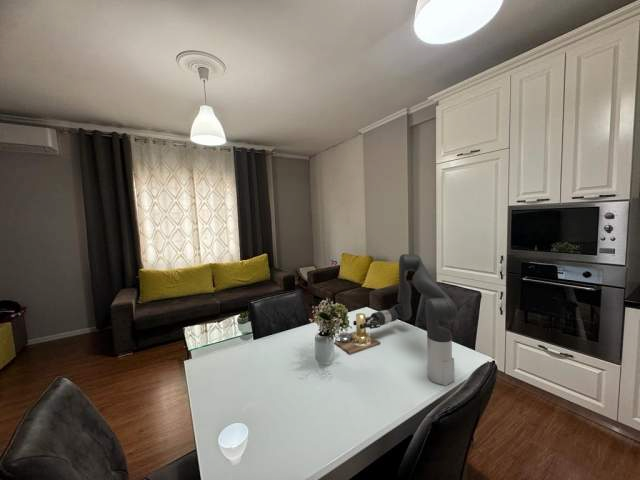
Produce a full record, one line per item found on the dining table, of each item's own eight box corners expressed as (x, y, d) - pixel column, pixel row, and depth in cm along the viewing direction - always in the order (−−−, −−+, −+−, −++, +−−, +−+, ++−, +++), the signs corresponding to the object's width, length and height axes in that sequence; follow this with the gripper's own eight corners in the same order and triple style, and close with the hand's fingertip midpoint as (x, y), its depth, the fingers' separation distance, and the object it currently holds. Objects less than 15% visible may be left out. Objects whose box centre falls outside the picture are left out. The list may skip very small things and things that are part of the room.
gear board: (380, 344, 137) (380, 341, 137) (349, 354, 127) (349, 352, 127) (359, 332, 152) (359, 330, 152) (330, 340, 143) (330, 338, 142)
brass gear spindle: (374, 339, 136) (373, 315, 135) (359, 344, 131) (359, 319, 131) (362, 333, 144) (362, 310, 144) (348, 337, 140) (348, 314, 139)
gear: (355, 340, 139) (355, 334, 139) (342, 345, 134) (341, 338, 134) (345, 334, 147) (345, 328, 147) (332, 338, 143) (332, 331, 143)
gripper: (372, 308, 150) (348, 314, 142) (390, 315, 138) (365, 322, 130) (372, 320, 151) (349, 327, 143) (390, 329, 138) (365, 337, 130)
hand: (357, 325), depth 136 cm, fingers closed on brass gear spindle, 5 cm apart
